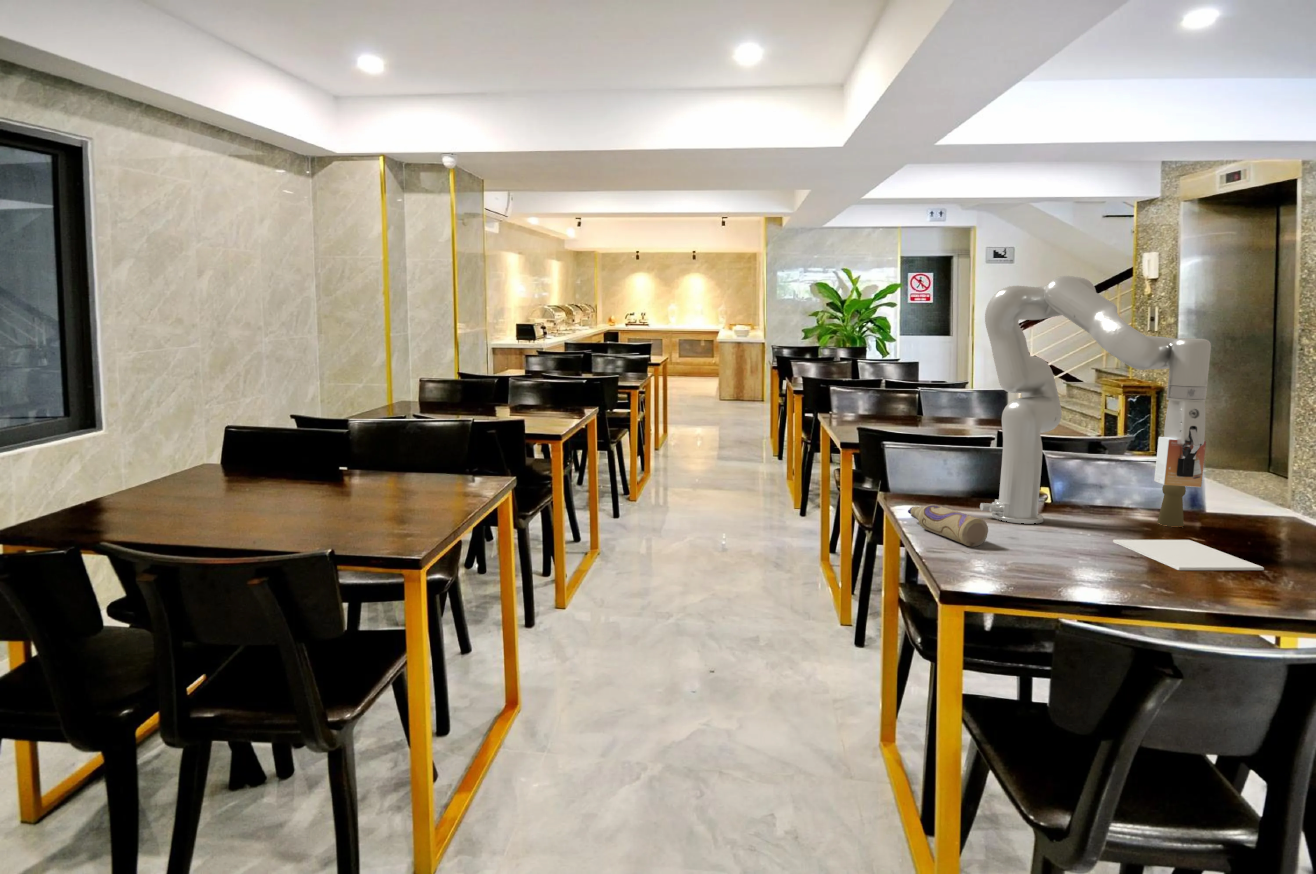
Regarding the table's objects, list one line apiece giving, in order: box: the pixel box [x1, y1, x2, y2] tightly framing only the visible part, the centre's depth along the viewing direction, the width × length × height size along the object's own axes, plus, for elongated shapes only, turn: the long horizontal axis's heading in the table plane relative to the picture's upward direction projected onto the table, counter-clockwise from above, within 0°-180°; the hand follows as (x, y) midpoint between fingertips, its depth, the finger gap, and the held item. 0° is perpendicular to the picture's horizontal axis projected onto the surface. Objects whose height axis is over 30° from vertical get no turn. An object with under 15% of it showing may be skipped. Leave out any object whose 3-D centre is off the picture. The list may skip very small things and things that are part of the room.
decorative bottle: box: [907, 503, 989, 548], centre depth 211 cm, size 26×8×7 cm, turn 17°
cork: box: [1156, 484, 1187, 527], centre depth 226 cm, size 6×6×11 cm
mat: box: [1112, 539, 1265, 571], centre depth 196 cm, size 19×23×1 cm
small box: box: [1153, 436, 1207, 488], centre depth 198 cm, size 8×6×10 cm
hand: (1178, 473), depth 199 cm, fingers closed on small box, 5 cm apart
